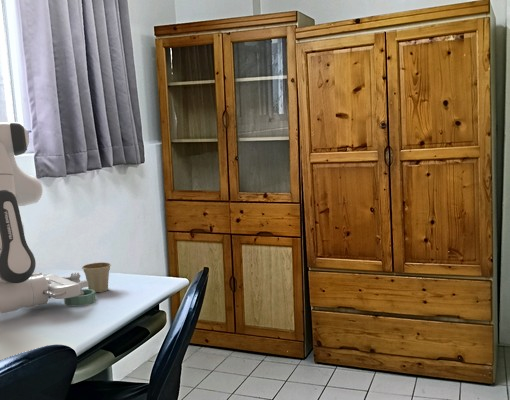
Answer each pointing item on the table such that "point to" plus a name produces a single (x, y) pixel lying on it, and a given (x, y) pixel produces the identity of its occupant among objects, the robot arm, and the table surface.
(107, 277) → the flower pot
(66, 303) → the bowl
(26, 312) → the table surface
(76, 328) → the table surface
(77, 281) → the rook chess piece
